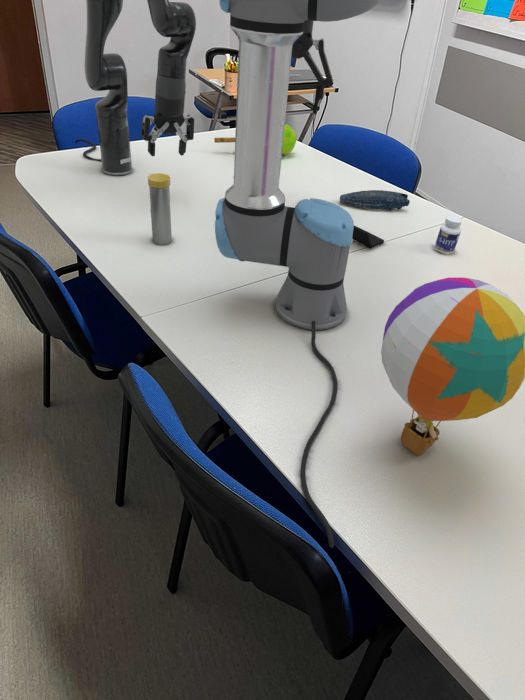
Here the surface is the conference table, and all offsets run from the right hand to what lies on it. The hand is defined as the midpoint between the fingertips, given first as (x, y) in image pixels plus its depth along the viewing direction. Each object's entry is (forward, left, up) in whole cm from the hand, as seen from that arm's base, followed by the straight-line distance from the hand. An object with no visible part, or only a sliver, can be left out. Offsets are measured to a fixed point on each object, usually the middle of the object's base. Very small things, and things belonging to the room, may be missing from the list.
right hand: (288, 109), depth 135 cm
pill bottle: (-11, -47, -28) cm, 56 cm away
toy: (-84, -33, -28) cm, 95 cm away
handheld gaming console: (-12, -23, -28) cm, 38 cm away
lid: (-28, +27, -12) cm, 40 cm away
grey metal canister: (-28, +27, -28) cm, 47 cm away
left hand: (-2, +32, -15) cm, 36 cm away
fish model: (+13, -28, -28) cm, 41 cm away
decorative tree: (+47, +15, -28) cm, 56 cm away
